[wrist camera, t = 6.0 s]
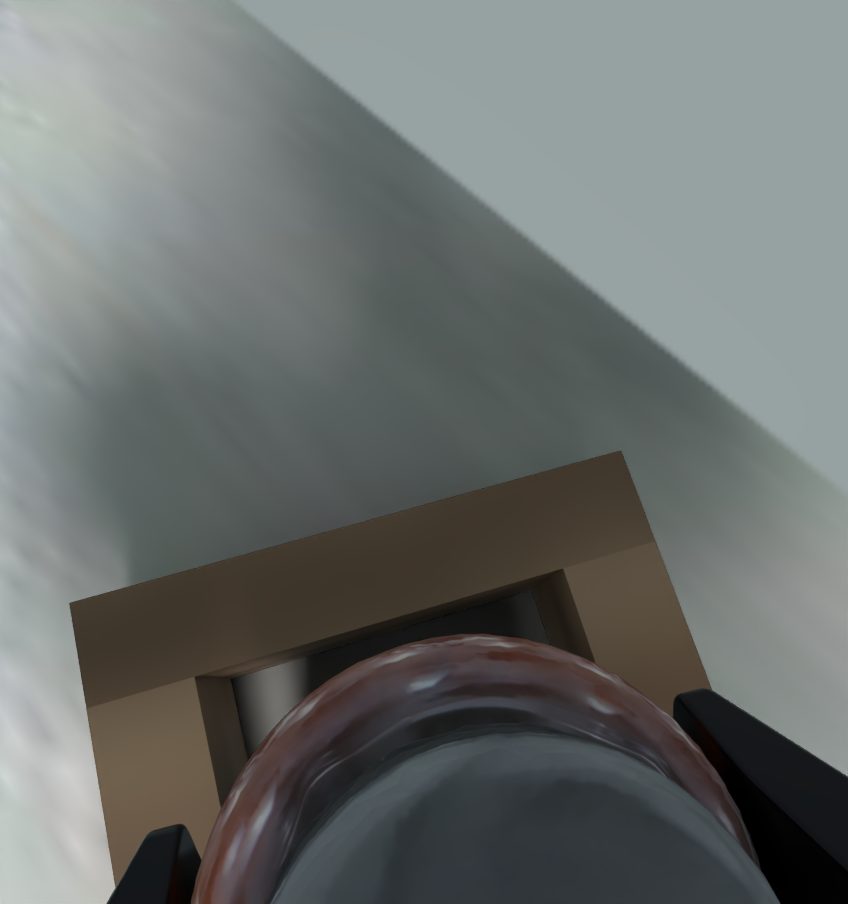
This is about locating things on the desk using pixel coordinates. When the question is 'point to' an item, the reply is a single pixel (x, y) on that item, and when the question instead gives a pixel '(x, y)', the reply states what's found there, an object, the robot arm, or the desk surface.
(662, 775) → the supplement bottle
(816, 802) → the robot arm
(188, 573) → the walnut pocket block
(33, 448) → the desk surface
